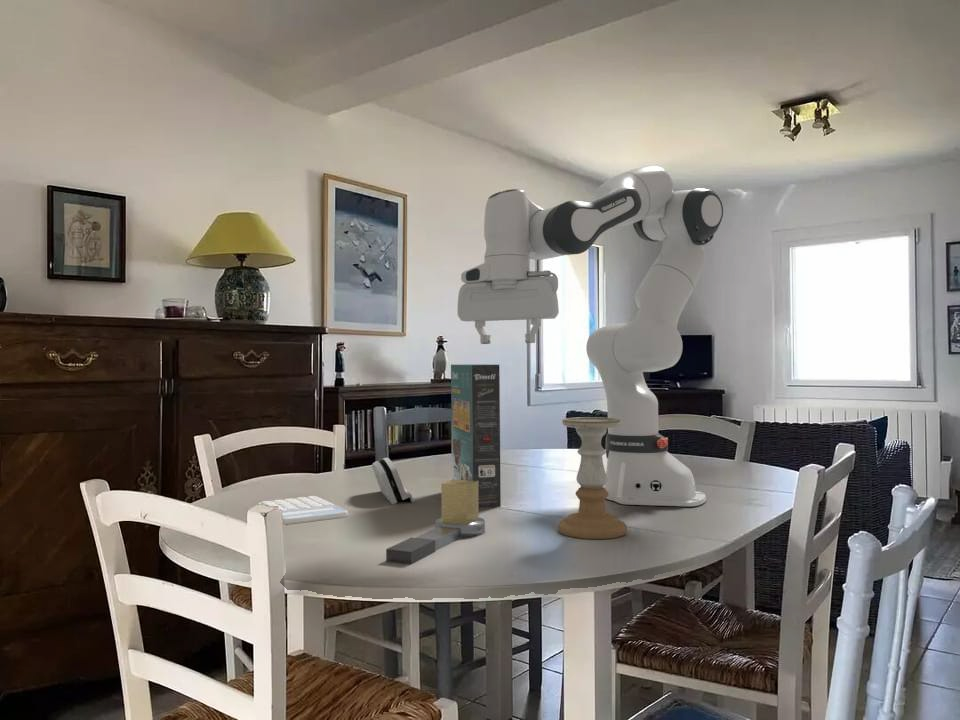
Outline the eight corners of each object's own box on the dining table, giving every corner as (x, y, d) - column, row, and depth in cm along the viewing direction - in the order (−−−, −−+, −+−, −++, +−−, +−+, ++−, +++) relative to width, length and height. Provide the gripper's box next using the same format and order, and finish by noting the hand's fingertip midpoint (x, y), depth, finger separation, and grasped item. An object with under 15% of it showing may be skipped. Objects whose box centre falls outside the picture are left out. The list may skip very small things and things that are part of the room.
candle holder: (627, 525, 136) (626, 416, 136) (627, 541, 124) (625, 422, 124) (561, 522, 139) (560, 416, 139) (554, 538, 127) (553, 421, 127)
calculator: (317, 503, 163) (317, 494, 163) (350, 519, 146) (350, 509, 146) (256, 510, 156) (256, 501, 156) (283, 527, 139) (283, 517, 139)
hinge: (414, 502, 160) (399, 460, 159) (394, 511, 159) (378, 468, 158) (401, 489, 176) (387, 451, 175) (383, 497, 175) (368, 458, 174)
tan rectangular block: (478, 519, 134) (478, 481, 134) (467, 525, 129) (466, 485, 129) (453, 517, 136) (453, 479, 136) (441, 522, 131) (441, 483, 131)
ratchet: (448, 524, 138) (448, 498, 138) (492, 529, 135) (492, 501, 135) (373, 560, 114) (373, 528, 114) (424, 566, 110) (424, 533, 110)
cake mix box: (500, 506, 155) (499, 364, 155) (472, 507, 154) (471, 364, 154) (476, 489, 176) (475, 364, 176) (452, 490, 175) (450, 364, 175)
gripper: (562, 271, 142) (563, 342, 142) (467, 277, 150) (467, 344, 150) (552, 267, 136) (553, 342, 136) (453, 274, 145) (454, 344, 145)
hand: (507, 343), depth 143 cm, fingers open, 8 cm apart
